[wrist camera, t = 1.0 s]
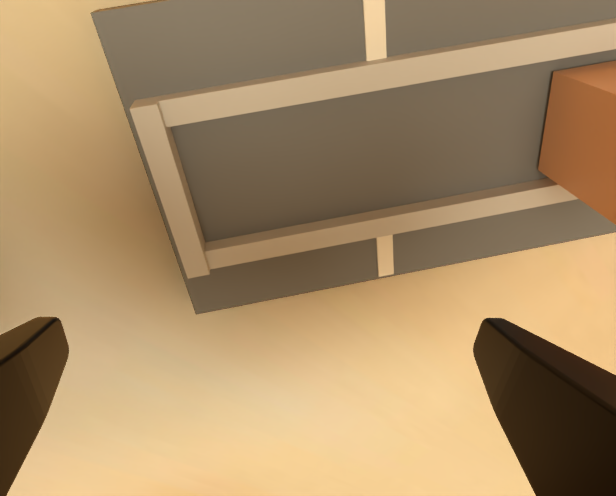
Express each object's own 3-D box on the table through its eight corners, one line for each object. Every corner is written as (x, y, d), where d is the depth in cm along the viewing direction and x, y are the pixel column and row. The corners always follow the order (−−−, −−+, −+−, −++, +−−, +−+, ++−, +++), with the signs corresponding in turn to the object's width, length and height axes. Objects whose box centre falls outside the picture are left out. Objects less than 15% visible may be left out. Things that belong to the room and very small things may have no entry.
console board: (197, 302, 25) (194, 330, 23) (97, 9, 17) (81, 17, 15) (624, 218, 26) (655, 239, 24) (713, -89, 18) (768, -94, 16)
